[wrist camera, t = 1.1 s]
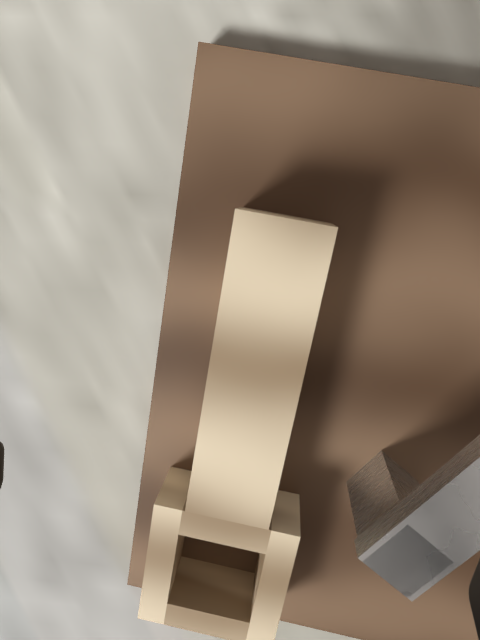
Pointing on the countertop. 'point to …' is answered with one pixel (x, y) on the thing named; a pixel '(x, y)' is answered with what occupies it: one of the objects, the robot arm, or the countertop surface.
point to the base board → (334, 308)
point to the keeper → (417, 519)
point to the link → (243, 437)
